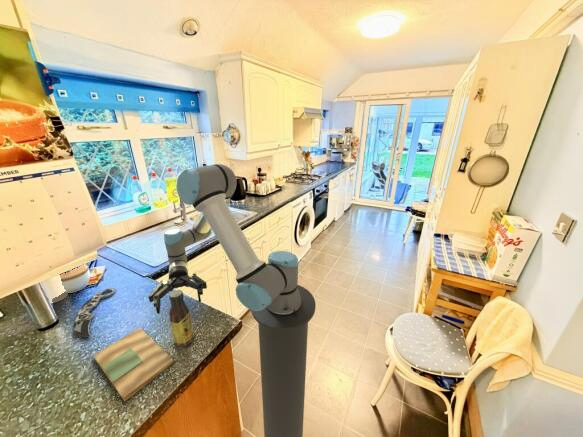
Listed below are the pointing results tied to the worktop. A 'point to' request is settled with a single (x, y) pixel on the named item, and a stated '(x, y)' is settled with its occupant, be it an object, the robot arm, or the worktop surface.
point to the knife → (88, 313)
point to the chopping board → (132, 362)
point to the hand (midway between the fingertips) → (179, 304)
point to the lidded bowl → (75, 279)
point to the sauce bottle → (180, 319)
